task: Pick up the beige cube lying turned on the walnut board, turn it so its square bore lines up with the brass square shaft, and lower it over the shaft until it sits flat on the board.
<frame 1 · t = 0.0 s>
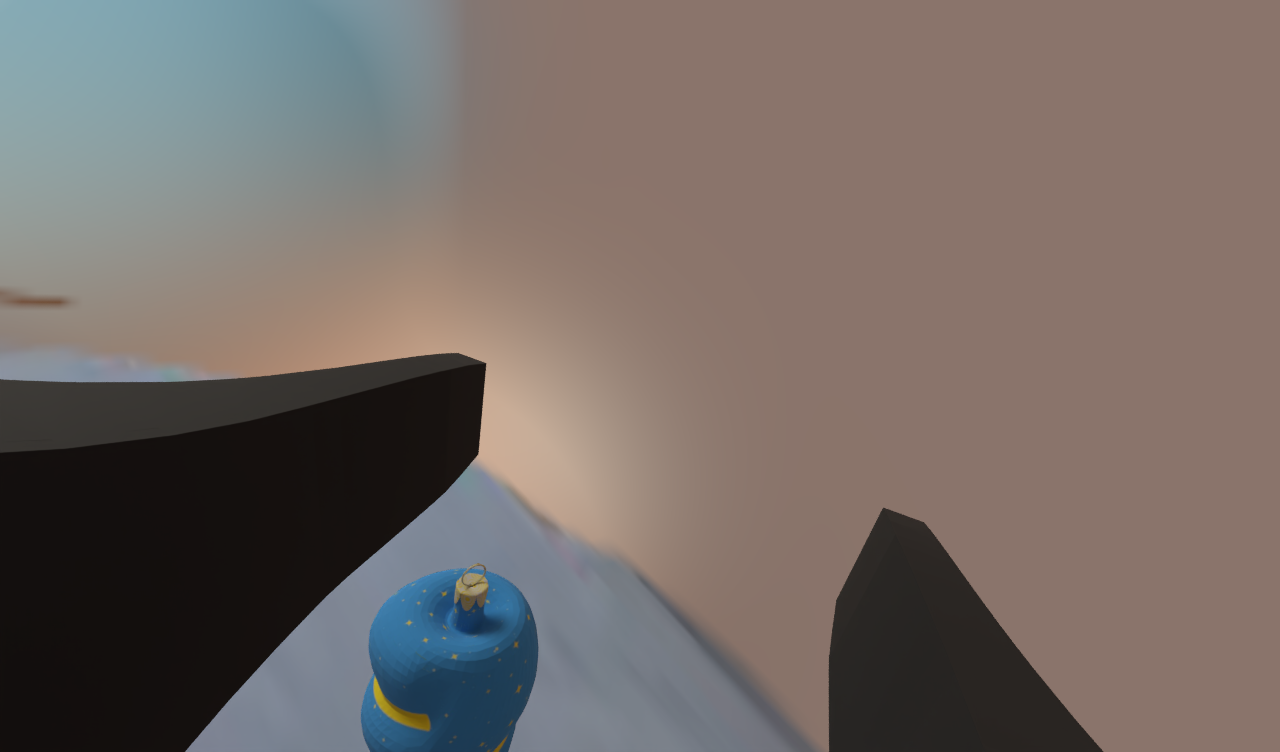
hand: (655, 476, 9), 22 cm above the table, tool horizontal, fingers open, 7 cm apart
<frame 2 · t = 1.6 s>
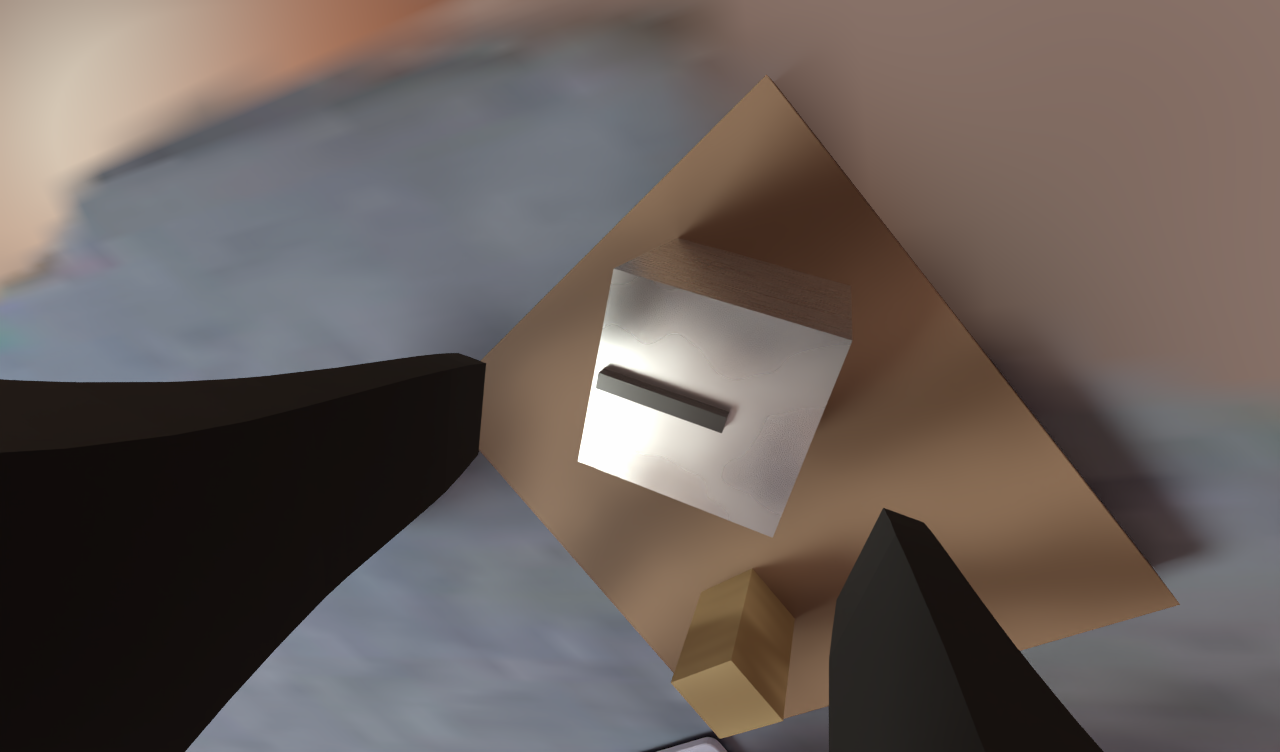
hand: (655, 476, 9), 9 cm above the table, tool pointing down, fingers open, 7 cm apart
board: (749, 463, 19), on the table
beige cube: (736, 341, 16), point 1 cm above the table, touching board
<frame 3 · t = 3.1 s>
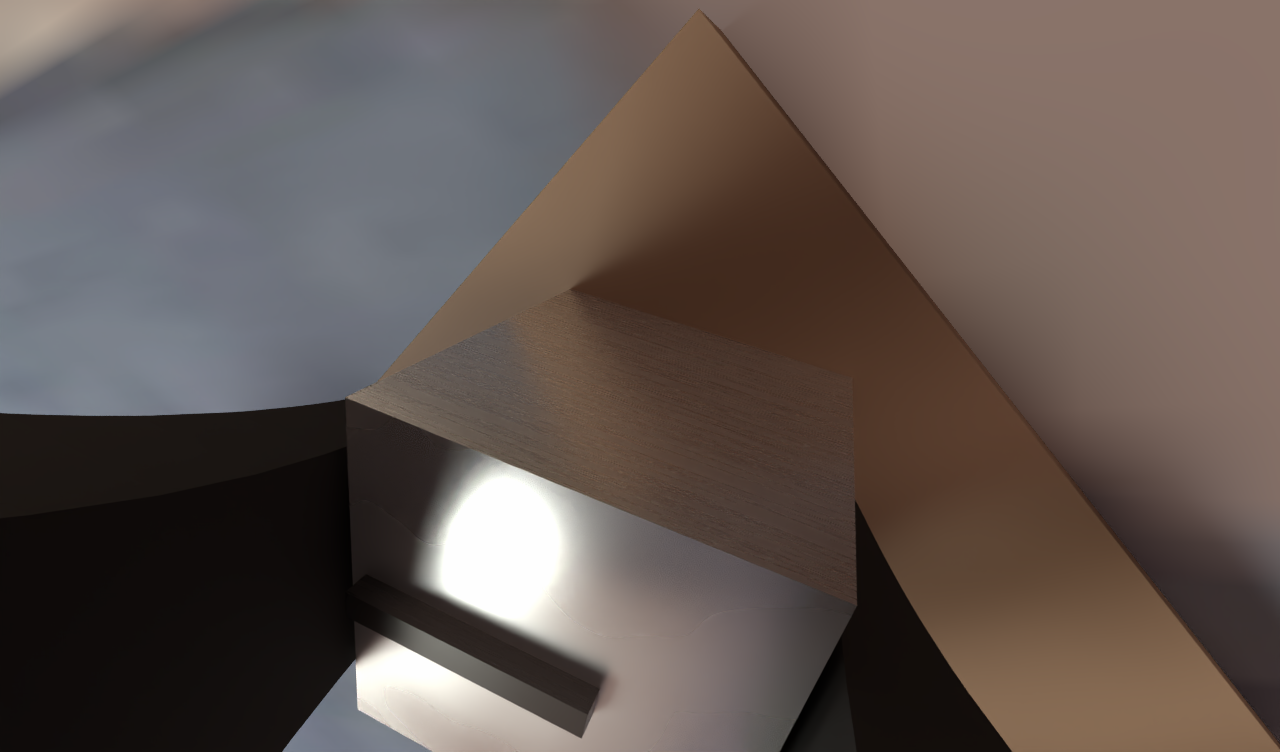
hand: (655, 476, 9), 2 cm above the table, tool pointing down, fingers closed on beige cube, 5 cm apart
board: (703, 604, 13), on the table
beige cube: (669, 452, 10), point 1 cm above the table, touching board, gripper
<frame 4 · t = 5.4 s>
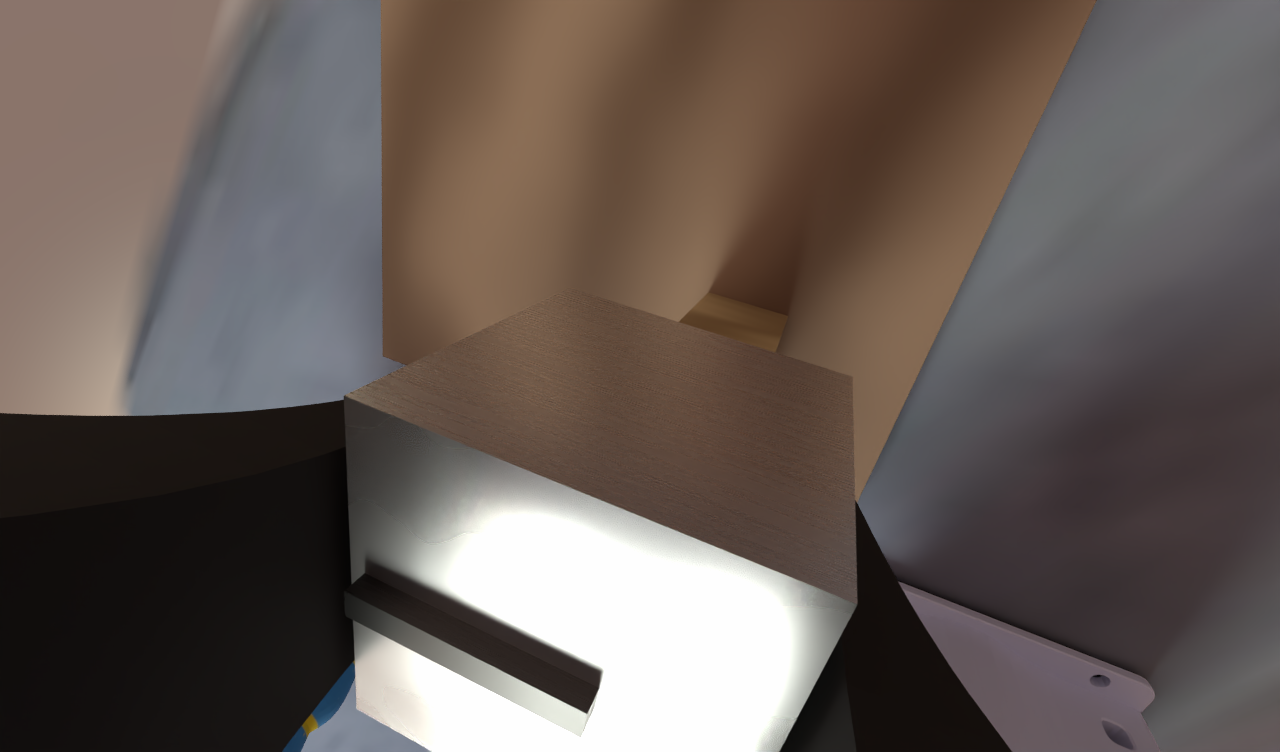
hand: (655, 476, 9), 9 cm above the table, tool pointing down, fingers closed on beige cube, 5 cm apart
ornament: (425, 546, 27), on the table
board: (649, 202, 17), on the table
beige cube: (669, 451, 10), point 8 cm above the table, touching gripper
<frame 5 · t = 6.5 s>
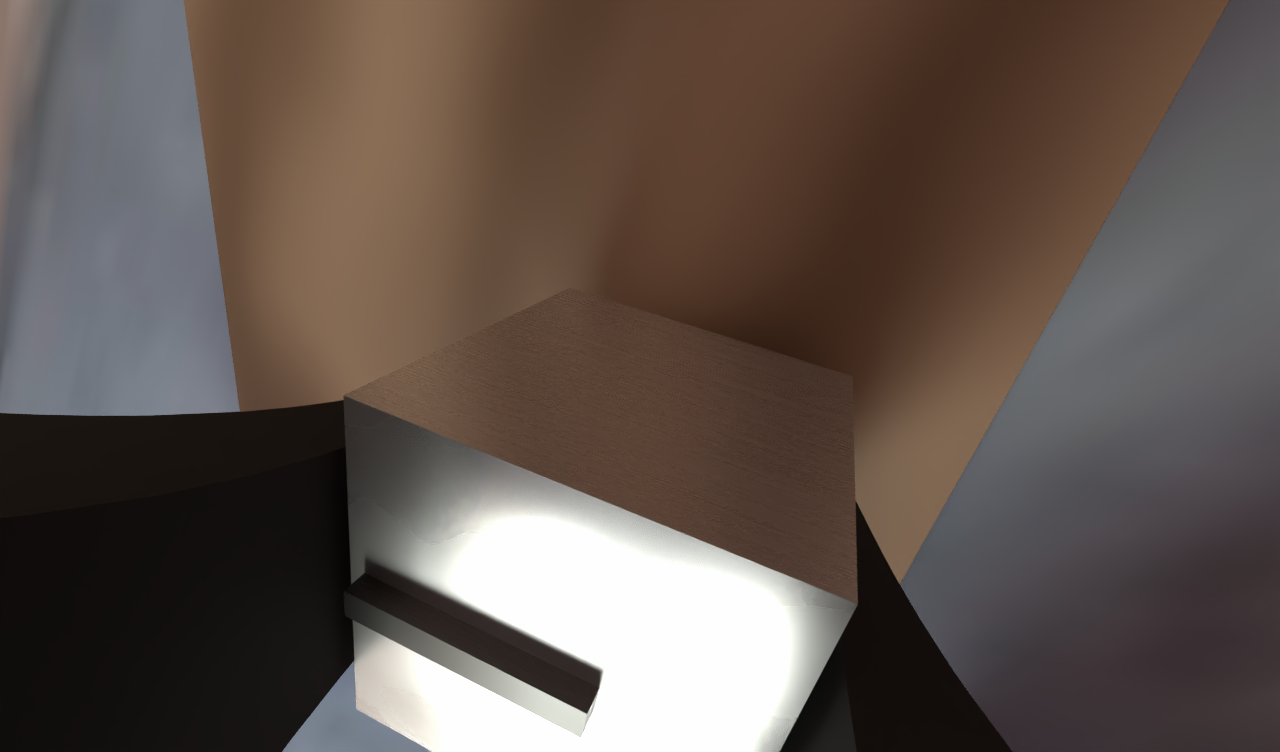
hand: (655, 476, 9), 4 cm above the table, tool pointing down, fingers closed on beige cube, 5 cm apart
board: (568, 224, 12), on the table
beige cube: (669, 451, 10), point 3 cm above the table, touching gripper
when the fingers open (3 cm above the table, at t = 7.6 s): beige cube stays where it is, resting on board.
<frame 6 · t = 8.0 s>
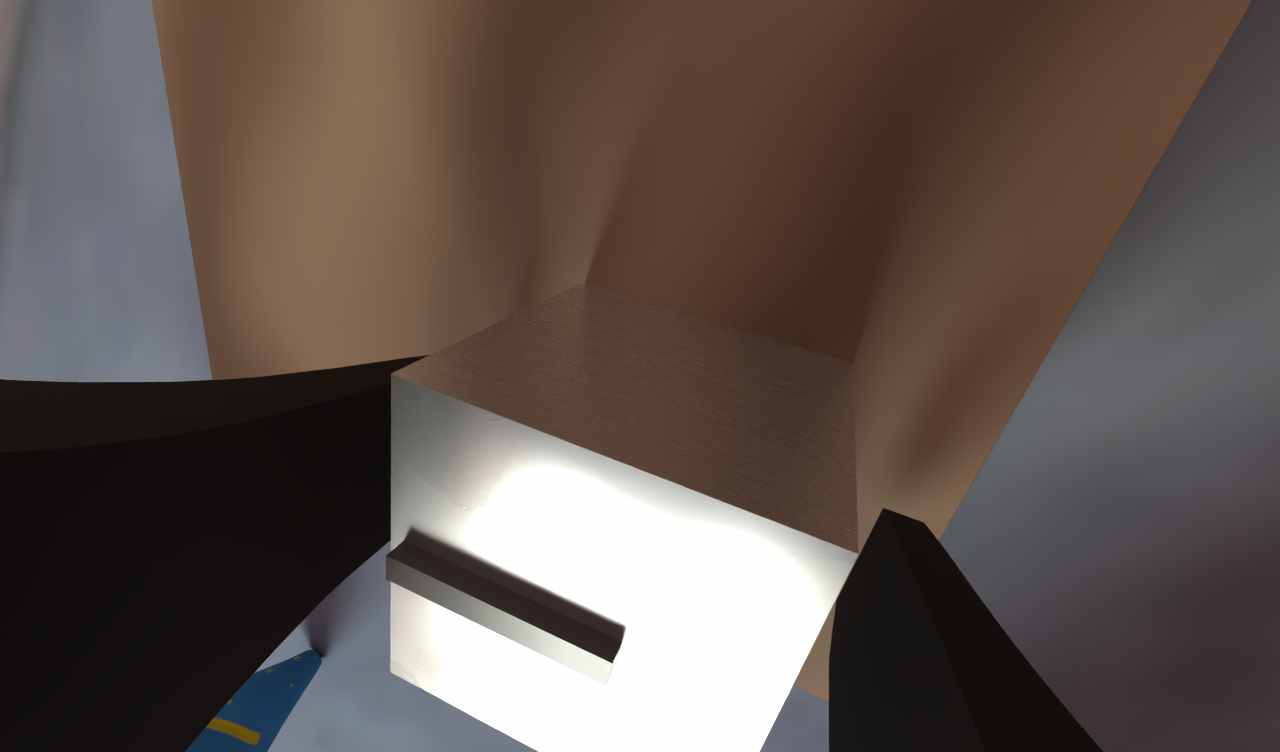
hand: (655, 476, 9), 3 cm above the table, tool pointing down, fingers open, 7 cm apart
ornament: (318, 647, 22), on the table
board: (555, 226, 12), on the table
beige cube: (679, 436, 11), point 1 cm above the table, touching board
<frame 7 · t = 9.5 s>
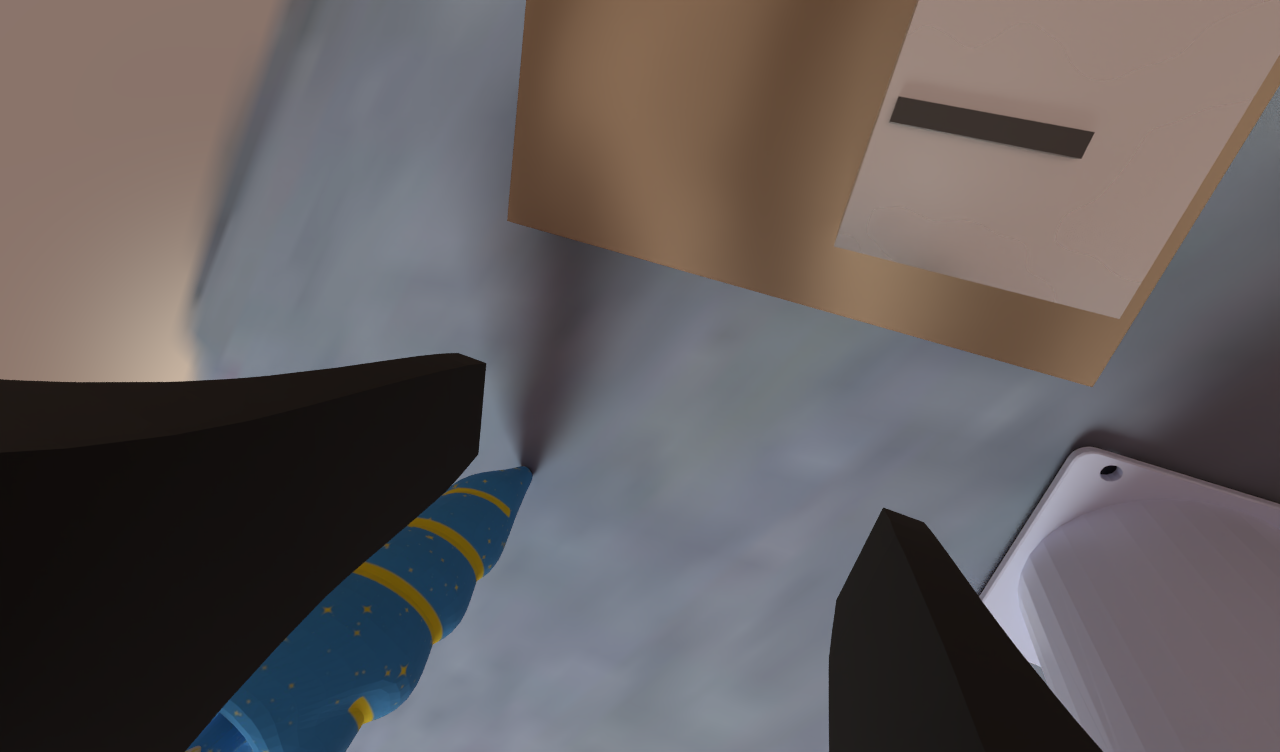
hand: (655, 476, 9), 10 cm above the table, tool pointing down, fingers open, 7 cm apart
ornament: (526, 467, 25), on the table
beige cube: (977, 144, 13), point 1 cm above the table, touching board
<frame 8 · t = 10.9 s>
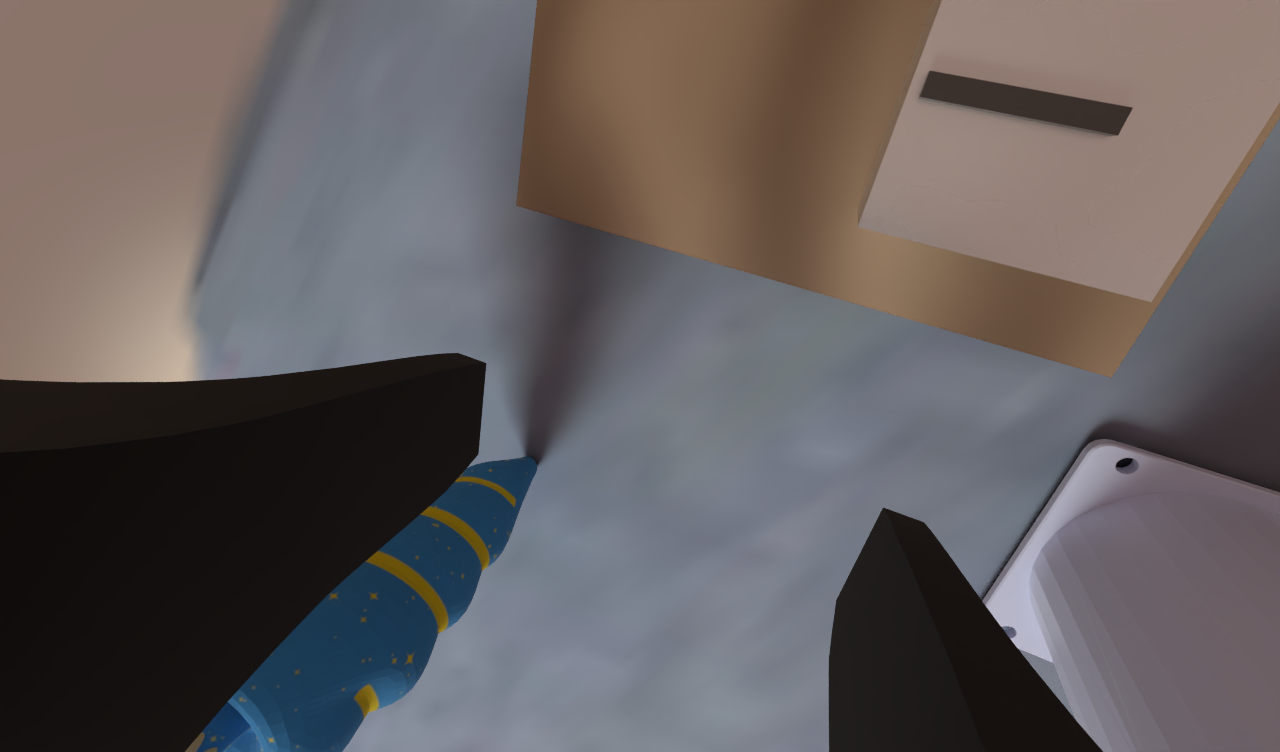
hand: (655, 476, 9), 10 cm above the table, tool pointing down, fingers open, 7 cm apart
ornament: (531, 457, 24), on the table
beige cube: (999, 129, 13), point 1 cm above the table, touching board
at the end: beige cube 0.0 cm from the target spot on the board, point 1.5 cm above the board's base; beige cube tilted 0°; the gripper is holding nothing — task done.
